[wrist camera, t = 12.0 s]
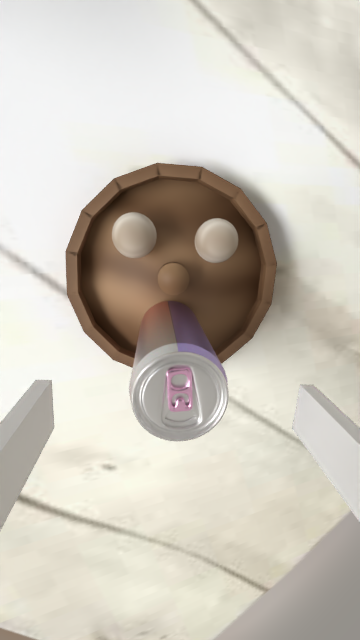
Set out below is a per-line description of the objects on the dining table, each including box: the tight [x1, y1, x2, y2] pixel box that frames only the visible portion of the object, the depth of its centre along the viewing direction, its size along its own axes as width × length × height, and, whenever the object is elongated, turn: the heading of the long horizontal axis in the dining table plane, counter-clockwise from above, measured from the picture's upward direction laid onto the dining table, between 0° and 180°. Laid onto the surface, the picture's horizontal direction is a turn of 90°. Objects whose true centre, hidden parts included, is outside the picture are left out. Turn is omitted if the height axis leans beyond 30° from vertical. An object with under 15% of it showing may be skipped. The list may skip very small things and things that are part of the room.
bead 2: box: [195, 218, 238, 263], centre depth 28 cm, size 4×4×4 cm
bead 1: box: [112, 212, 157, 258], centre depth 27 cm, size 4×4×4 cm
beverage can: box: [129, 301, 228, 441], centre depth 24 cm, size 6×6×15 cm
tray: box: [66, 163, 277, 368], centre depth 30 cm, size 20×20×3 cm
